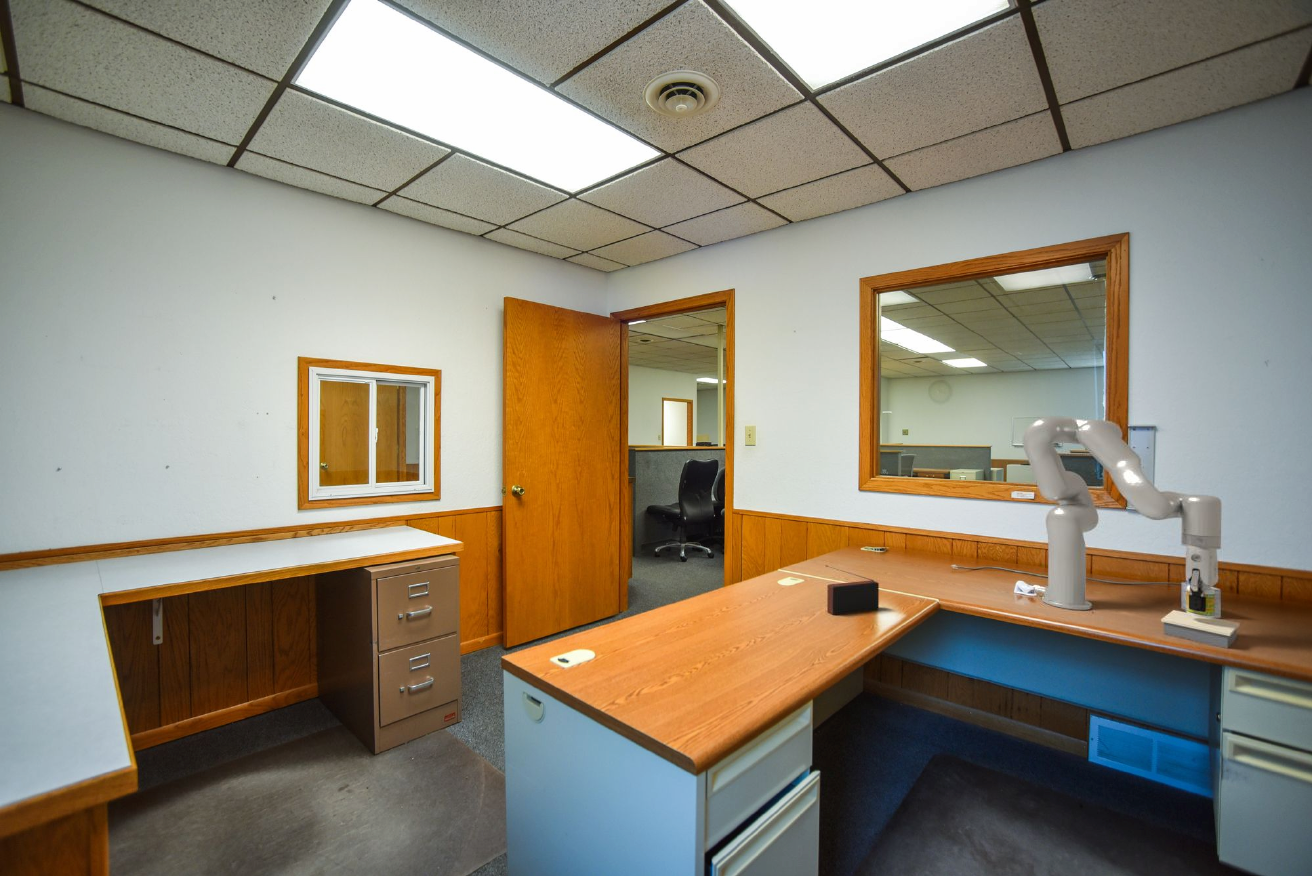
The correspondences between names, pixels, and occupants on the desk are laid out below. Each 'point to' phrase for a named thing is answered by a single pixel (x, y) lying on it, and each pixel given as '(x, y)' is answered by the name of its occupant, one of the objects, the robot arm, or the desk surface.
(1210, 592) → the supplement bottle
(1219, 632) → the base block
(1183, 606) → the medicine box
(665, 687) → the desk surface
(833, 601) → the radio
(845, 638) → the desk surface
